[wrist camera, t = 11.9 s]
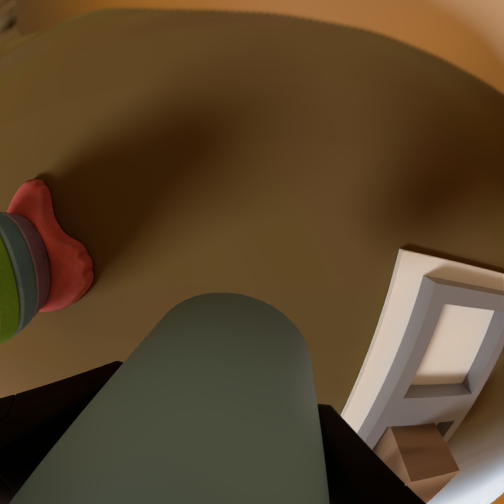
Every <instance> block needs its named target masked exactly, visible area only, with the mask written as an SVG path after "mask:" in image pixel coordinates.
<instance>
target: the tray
mask: <svg viewBox="0 0 504 504" xmlns="http://www.w3.org/2000/svg"><path fill="white" fill-rule="evenodd" d="M503 346H504V273H500V272H496V271H492V270H488V269H485V268H481V267H477V266H473V265H468V264H464V263H460V262H456V261H452V260H448V259H443V258H439V257H435V256H430V255H426V254H422V253H417V252H413V251H408V250H404V249H399V252H398V256H397V260H396V264H395V268H394V272H393V275H392V279H391V283H390V286H389V290H388V293H387V296H386V300H385V303H384V306H383V309H382V313H381V316H380V319H379V322H378V325H377V328H376V331H375V333H374V336H373V339H372V342H371V345H370V347H369V350H368V353H367V355H366V358H365V360H364V363H363V365H362V368H361V370H360V373H359V375H358V378H357V380H356V382H355V385H354V387H353V389H352V392H351V394H350V396H349V398H348V400H347V403H346V405H345V407H344V409H343V411H342V413H341V417H342V418H343V419H344V420H345V421H346V422H347V423H348V424H349V425H350V426H351V428H352V429H353V430H354V431H355V432H356V433H357V434H358V435H359V436H360V437H361V438H362V439H363V440H364V442H365V443H366V444H367V445H368V446H369V447H370V448H371V449H373V448H374V446H375V445H376V443H377V442H378V440H379V439H380V437H381V436H382V434H383V432H384V431H385V429H386V428H387V427H391V426H408V425H421V424H431V423H435V425H436V427H437V428H438V430H439V432H440V434H441V436H442V437H443V439H444V441H445V443H447V442H448V440H449V439H450V438H451V436H452V435H453V434H454V432H455V431H456V429H457V428H458V426H459V425H460V424H461V422H462V421H463V419H464V418H465V416H466V415H467V413H468V411H469V410H470V408H471V407H472V405H473V403H474V402H475V400H476V398H477V397H478V395H479V393H480V392H481V390H482V388H483V386H484V384H485V383H486V381H487V379H488V377H489V375H490V373H491V371H492V369H493V367H494V365H495V363H496V361H497V359H498V357H499V355H500V353H501V351H502V348H503Z"/></svg>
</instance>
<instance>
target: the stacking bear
mask: <svg viewBox="0 0 504 504" xmlns="http://www.w3.org/2000/svg"><path fill="white" fill-rule="evenodd" d="M93 277H94V274H93V262H92V259H91V257H90V256H89V254H88V252H87V250H86V248H85V247H84V245H83V244H82V243H80V242H79V241H77V240H75V239H73V238H71V237H69V236H68V235H67V234H66V233H65V232H64V231H63V230H62V229H61V227H60V226H59V224H58V222H57V220H56V218H55V216H54V212H53V207H52V199H51V194H50V190H49V189H48V187H47V186H46V185H45V183H44V181H43V180H42V179H36V180H35V179H31V180H27V181H26V182H24V183H23V184H22V185H21V186H20V188H19V189H18V190H17V192H16V194H15V195H14V197H13V199H12V201H11V203H10V205H9V208H8V210H7V212H0V344H1V343H3V342H5V341H7V340H9V339H10V338H12V337H13V336H15V335H16V334H18V333H19V332H20V331H21V330H22V329H23V328H24V327H25V326H26V325H27V324H28V323H29V322H30V321H31V319H32V318H33V317H34V316H35V315H36V314H37V313H38V311H42V312H50V311H56V310H60V309H63V308H65V307H67V306H69V305H71V304H73V303H74V302H76V301H77V300H78V299H80V298H81V297H82V296H83V295H84V293H85V292H86V291H87V290H88V288H89V287H90V285H91V283H92V281H93Z"/></svg>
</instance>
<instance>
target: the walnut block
mask: <svg viewBox="0 0 504 504" xmlns="http://www.w3.org/2000/svg"><path fill="white" fill-rule="evenodd" d="M372 450H373V451H374V452H375V453H376V454H377V455H378V456H379V457H380V458H381V459H382V461H383V462H384V463H385V464H386V465H387V466H388V467H389V468H390V469H391V470H392V471H393V472H394V473H395V474H396V475H397V476H398V477H399V478H400V479H401V480H402V481H403V482H404V483H405V486H406V485H407V486H408V487H409V488H410V489H411V490H412V491H413V492H414V493H415V494H416V495H417V496H418V497H420V498H421V499H422V500H423V501H424V502H425V503H427V502H428V501H430V500H431V499H432V498H433V497H434V496H435V495H436V494H437V493H438V492H439V491H440V490H441V489H442V488H443V487H444V486H445V485H446V484H447V483H448V482H449V481H450V480H451V479H452V478H453V477H454V476H455V475H456V474H457V473H458V472H459V468H458V466H457V464H456V462H455V460H454V458H453V456H452V454H451V452H450V451H449V449H448V447H447V445H446V443H445V441H444V439H443V437H442V436H441V434H440V432H439V430H438V428H437V427H436V425H435V423H431V424H421V425H408V426H391V427H387V428H386V429H385V431H384V432H383V434H382V436H381V437H380V439H379V440H378V442H377V443H376V445H375V446H374V448H373V449H372Z"/></svg>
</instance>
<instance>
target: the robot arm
mask: <svg viewBox="0 0 504 504" xmlns="http://www.w3.org/2000/svg"><path fill="white" fill-rule="evenodd" d="M122 364H123V362H120V361H115V362H112V363H109V364H106V365H104V366H101V367H98V368H95V369H92V370H89V371H87V372H84V373H81V374H78V375H75V376H72V377H69V378H66V379H63V380H60V381H57V382H54V383H51V384H47V385H44V386H41V387H38V388H35V389H31V390H28V391H25V392H21V393H18V394H16V396H15V395H11V396H7V397H4V398H0V504H9V503H10V502H11V500H12V499H13V498H14V496H15V495H16V494H17V492H18V491H19V490H20V488H21V487H22V486H23V485H24V483H25V482H26V481H27V479H28V478H29V477H30V476H31V474H32V473H33V472H34V470H35V469H36V468H37V467H38V465H39V464H40V463H41V462H42V460H43V459H44V458H45V457H46V455H47V454H48V453H49V452H50V450H51V449H52V448H53V447H54V445H55V444H56V443H57V442H58V440H59V439H60V438H61V437H62V436H63V434H64V433H65V432H66V431H67V429H68V428H69V427H70V426H71V425H72V423H73V422H74V421H75V420H76V418H77V417H78V416H79V415H80V414H81V412H82V411H83V410H84V409H85V408H86V406H87V405H88V404H89V403H90V402H91V400H92V399H93V398H94V397H95V396H96V395H97V393H98V392H99V391H100V390H101V389H102V387H103V386H104V385H105V384H106V383H107V382H108V380H109V379H110V378H111V377H112V376H113V375H114V373H115V372H116V371H117V370H118V369H119V368H120V366H121V365H122ZM317 406H318V413H319V420H320V427H321V434H322V442H323V450H324V458H325V466H326V474H327V483H328V493H329V503H330V504H426V503H425V502H424V501H423V500H422V499H421V498H420V497H418V496H417V495H416V494H415V493H414V492H413V491H412V490H411V489H410V488H409V487H408V486H407V485H406V486H405V483H404V482H403V481H402V480H401V479H400V478H399V477H398V476H397V475H396V474H395V473H394V472H393V471H392V470H391V469H390V468H389V467H388V466H387V465H386V464H385V463H384V462H383V461H382V459H381V458H380V457H379V456H378V455H377V454H376V453H375V452H374V451H373V450H372V449H371V448H370V447H369V446H368V445H367V444H366V443H365V442H364V440H363V439H362V438H361V437H360V436H359V435H358V434H357V433H356V432H355V431H354V430H353V429H352V428H351V426H350V425H349V424H348V423H347V422H346V421H345V420H344V419H343V418H342V417H341V415H340V414H339V413H338V412H337V411H336V410H335V409H334V408H333V407H332V406H331V405H325V404H317Z"/></svg>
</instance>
